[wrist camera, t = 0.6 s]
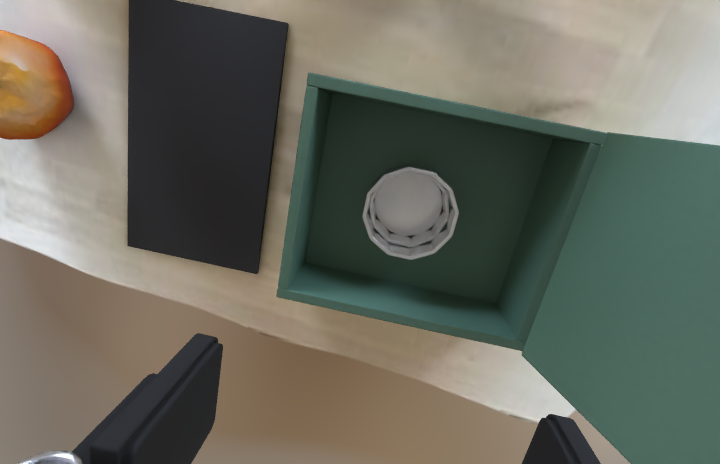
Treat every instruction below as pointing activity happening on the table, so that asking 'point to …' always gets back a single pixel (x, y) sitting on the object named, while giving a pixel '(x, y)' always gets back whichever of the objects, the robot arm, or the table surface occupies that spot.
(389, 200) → the bowl
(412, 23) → the table surface
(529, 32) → the table surface
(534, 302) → the open green box
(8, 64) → the fruit
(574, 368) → the lid
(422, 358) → the table surface
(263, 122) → the mat
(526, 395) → the table surface
